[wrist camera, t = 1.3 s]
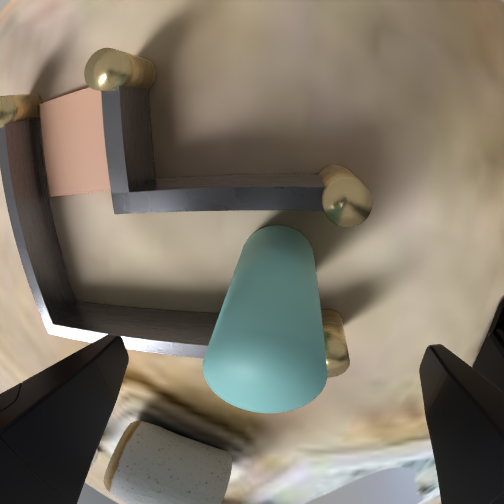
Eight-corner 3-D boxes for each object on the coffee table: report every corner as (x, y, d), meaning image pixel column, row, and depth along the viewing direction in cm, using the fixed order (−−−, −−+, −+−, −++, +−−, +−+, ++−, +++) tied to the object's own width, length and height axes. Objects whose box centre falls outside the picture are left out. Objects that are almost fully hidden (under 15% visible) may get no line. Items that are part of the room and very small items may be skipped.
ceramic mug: (135, 398, 20) (95, 483, 13) (240, 438, 20) (221, 528, 13) (127, 448, 24) (101, 508, 17) (204, 477, 25) (188, 540, 18)
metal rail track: (352, 43, 10) (370, 23, 7) (340, 334, 15) (346, 376, 12) (23, 98, 12) (-17, 102, 9) (67, 315, 17) (42, 342, 14)
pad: (121, 79, 11) (118, 79, 11) (130, 187, 13) (128, 188, 13) (43, 104, 12) (39, 104, 12) (53, 195, 14) (50, 197, 14)
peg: (315, 225, 13) (334, 329, 7) (312, 291, 14) (320, 413, 8) (239, 225, 13) (194, 325, 7) (243, 289, 15) (210, 408, 8)
